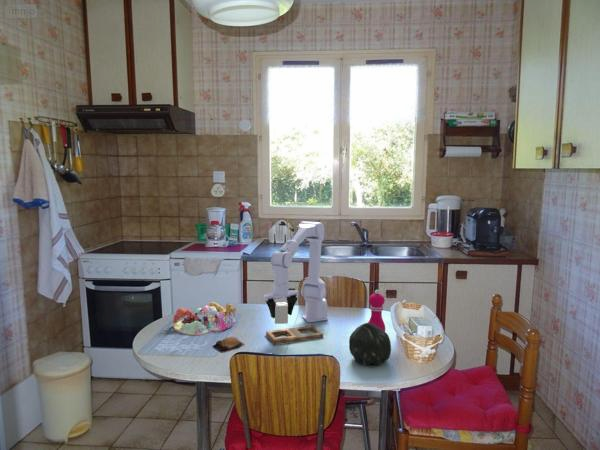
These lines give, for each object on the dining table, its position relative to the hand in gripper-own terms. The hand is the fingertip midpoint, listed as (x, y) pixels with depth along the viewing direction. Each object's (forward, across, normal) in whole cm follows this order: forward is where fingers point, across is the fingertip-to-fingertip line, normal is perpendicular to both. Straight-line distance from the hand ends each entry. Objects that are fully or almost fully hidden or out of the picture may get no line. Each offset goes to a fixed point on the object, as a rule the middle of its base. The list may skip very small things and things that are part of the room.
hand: (281, 315), depth 170 cm
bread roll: (+10, +21, -3) cm, 23 cm away
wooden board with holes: (+9, -5, +1) cm, 11 cm away
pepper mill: (+9, -32, +19) cm, 38 cm away
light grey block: (+2, 0, 0) cm, 2 cm away
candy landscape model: (+10, +22, -29) cm, 38 cm away
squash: (+10, -18, +33) cm, 39 cm away
